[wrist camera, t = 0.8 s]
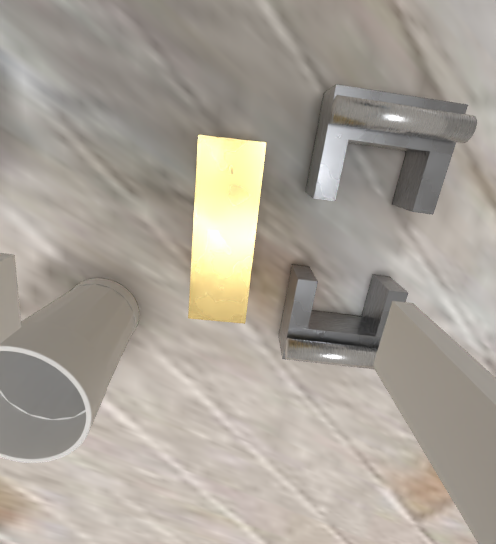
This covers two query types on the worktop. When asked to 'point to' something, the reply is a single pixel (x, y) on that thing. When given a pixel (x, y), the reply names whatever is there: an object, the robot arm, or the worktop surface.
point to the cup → (62, 369)
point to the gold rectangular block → (224, 226)
